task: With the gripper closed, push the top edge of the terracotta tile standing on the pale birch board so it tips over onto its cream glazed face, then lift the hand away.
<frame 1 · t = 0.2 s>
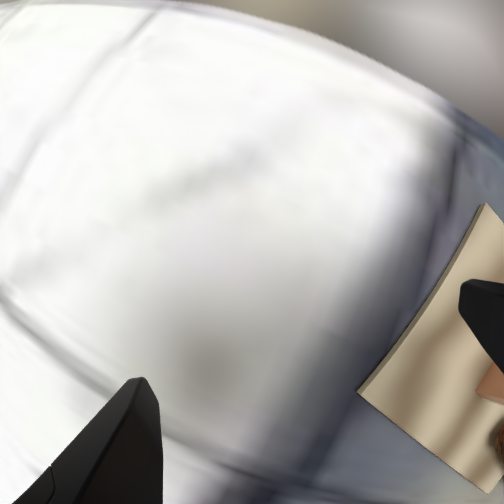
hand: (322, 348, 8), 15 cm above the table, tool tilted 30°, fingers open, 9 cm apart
board: (498, 364, 21), on the table
tile: (500, 359, 20), point 1 cm above the table, touching board
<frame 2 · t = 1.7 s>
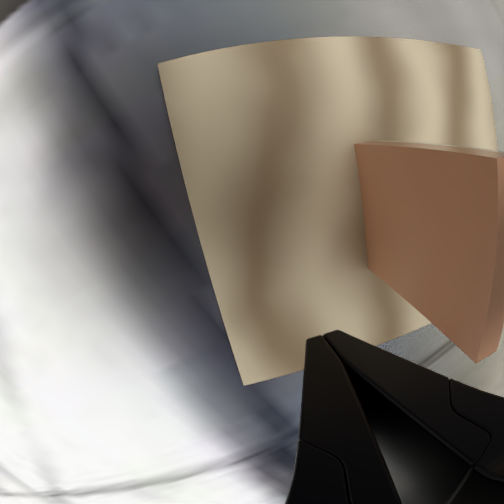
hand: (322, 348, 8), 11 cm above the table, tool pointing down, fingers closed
board: (380, 200, 18), on the table
tile: (374, 206, 17), point 1 cm above the table, touching board
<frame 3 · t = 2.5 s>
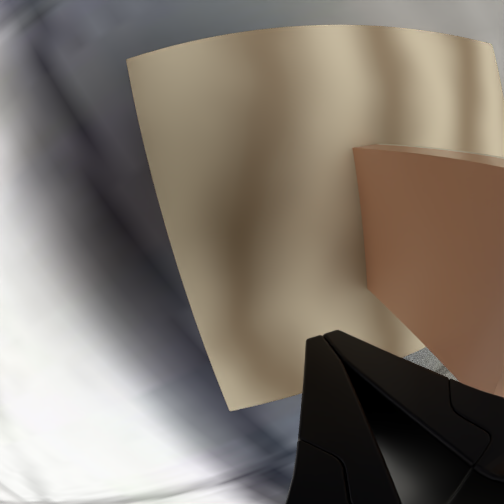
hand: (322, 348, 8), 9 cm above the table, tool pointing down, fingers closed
board: (382, 211, 16), on the table
tile: (375, 219, 15), point 1 cm above the table, touching board
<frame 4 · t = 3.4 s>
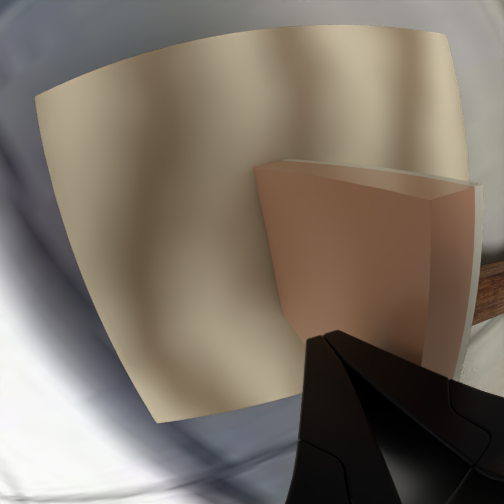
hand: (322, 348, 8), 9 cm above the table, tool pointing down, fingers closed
board: (298, 231, 16), on the table
tile: (285, 242, 15), point 1 cm above the table, tilted 8°, touching board
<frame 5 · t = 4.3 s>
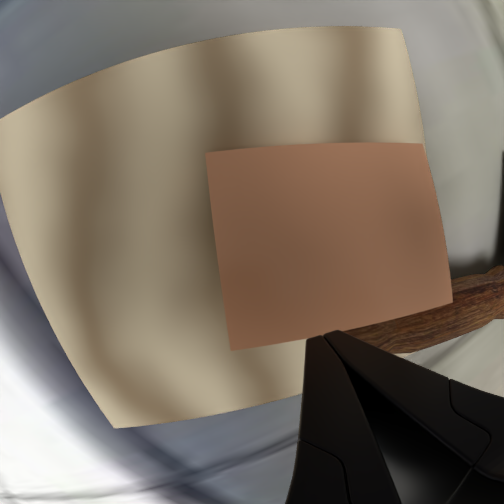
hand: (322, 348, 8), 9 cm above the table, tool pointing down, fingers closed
board: (233, 248, 16), on the table
tile: (216, 250, 12), point 3 cm above the table, tilted 90°, touching board
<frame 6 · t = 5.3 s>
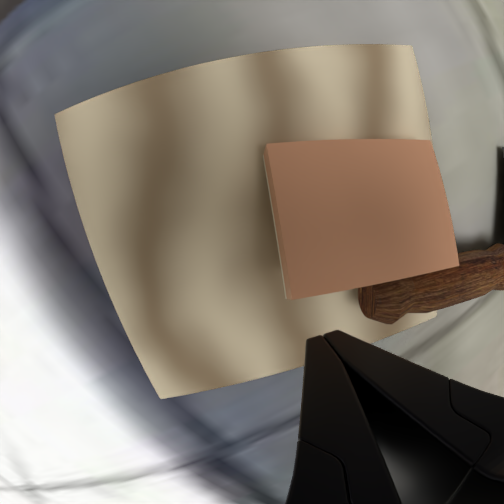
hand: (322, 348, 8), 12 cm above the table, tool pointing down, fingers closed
board: (280, 224, 19), on the table
tile: (276, 221, 15), point 3 cm above the table, tilted 90°, touching board, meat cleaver
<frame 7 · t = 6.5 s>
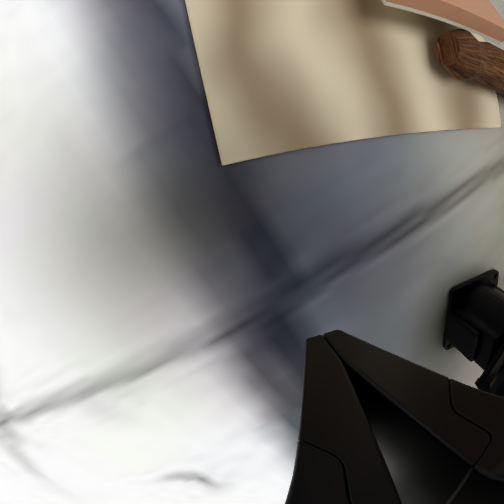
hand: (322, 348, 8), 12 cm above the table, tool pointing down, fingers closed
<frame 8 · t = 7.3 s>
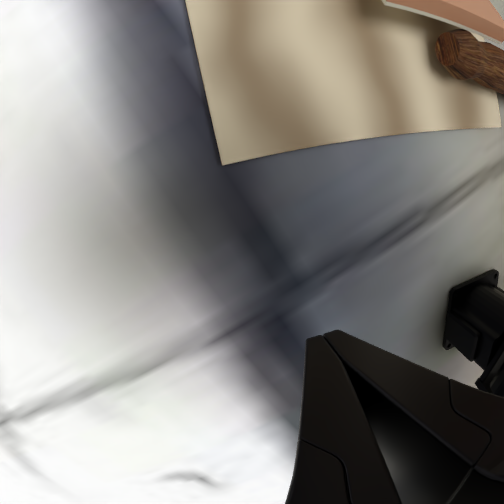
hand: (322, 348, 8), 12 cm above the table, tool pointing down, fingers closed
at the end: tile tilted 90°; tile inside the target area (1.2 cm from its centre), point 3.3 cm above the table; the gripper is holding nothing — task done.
